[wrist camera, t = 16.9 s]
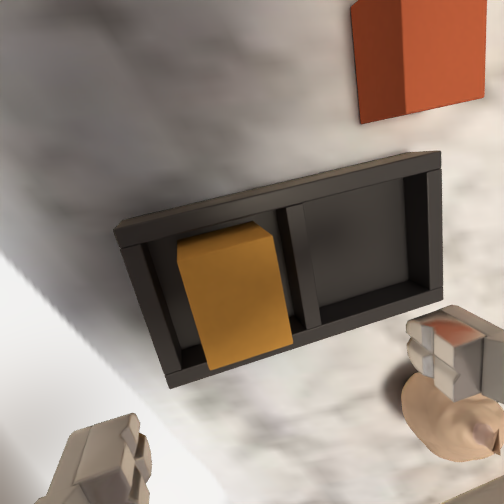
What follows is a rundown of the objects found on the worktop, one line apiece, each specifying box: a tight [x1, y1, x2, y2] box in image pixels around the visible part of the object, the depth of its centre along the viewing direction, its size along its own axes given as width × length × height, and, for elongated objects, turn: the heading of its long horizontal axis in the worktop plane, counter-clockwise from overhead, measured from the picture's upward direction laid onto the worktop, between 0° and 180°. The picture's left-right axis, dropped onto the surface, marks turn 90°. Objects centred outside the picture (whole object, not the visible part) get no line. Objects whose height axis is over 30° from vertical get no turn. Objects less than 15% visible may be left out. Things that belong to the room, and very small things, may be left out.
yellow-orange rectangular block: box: [177, 221, 293, 370], centre depth 17 cm, size 6×4×4 cm
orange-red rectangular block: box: [351, 0, 487, 124], centre depth 16 cm, size 6×4×4 cm
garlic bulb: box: [401, 372, 504, 462], centre depth 22 cm, size 7×6×8 cm
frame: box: [113, 151, 443, 389], centre depth 19 cm, size 10×18×3 cm, turn 102°
